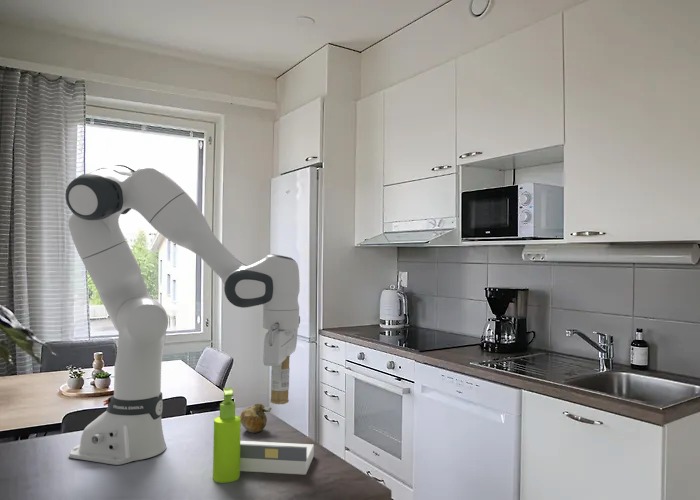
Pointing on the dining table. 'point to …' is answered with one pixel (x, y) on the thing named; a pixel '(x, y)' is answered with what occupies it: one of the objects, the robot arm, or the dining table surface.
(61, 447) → the dining table surface
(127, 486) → the dining table surface
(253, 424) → the onion
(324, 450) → the dining table surface
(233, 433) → the soap dispenser
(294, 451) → the white slab
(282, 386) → the sprinkles bottle
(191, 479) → the dining table surface
